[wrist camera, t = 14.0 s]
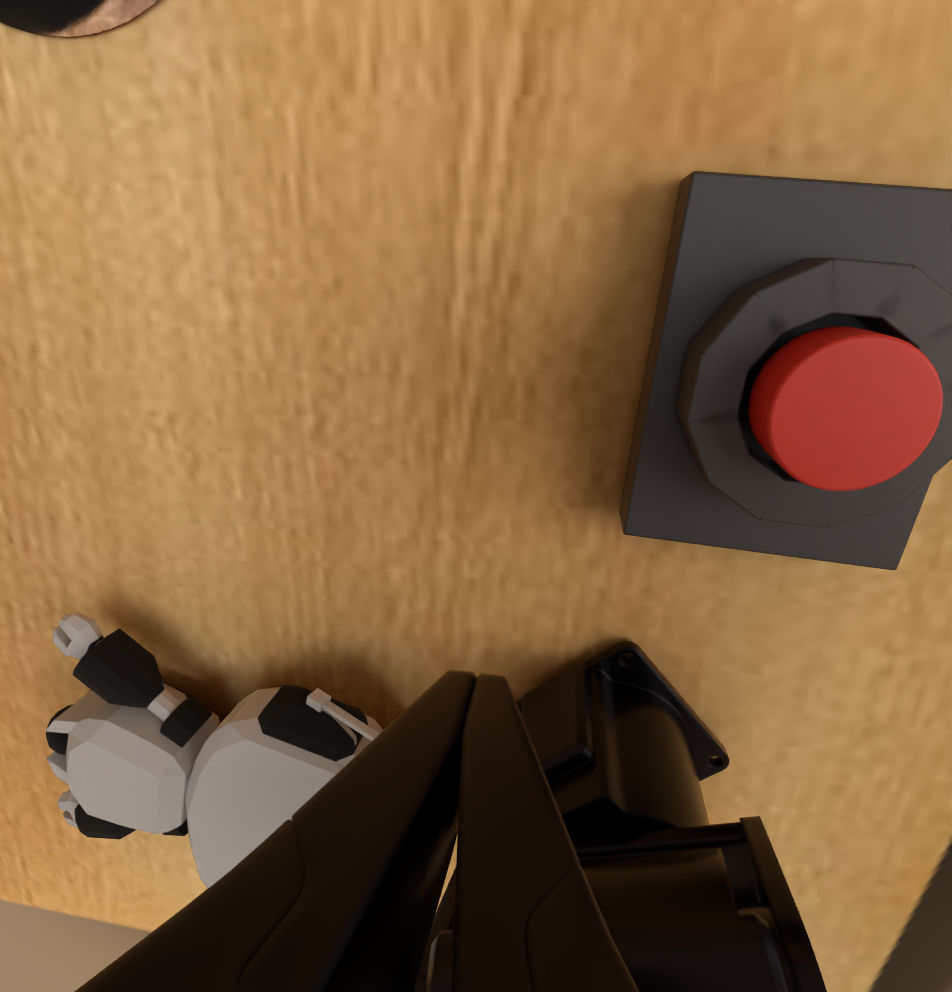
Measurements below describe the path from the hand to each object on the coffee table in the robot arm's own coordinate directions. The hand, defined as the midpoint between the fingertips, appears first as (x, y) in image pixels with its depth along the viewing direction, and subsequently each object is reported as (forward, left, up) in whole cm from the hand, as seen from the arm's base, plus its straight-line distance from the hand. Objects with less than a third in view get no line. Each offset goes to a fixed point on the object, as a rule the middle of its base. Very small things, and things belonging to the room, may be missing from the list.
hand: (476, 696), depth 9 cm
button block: (-3, -7, -12) cm, 14 cm away
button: (-3, -7, -9) cm, 12 cm away
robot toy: (-3, +18, -12) cm, 22 cm away
